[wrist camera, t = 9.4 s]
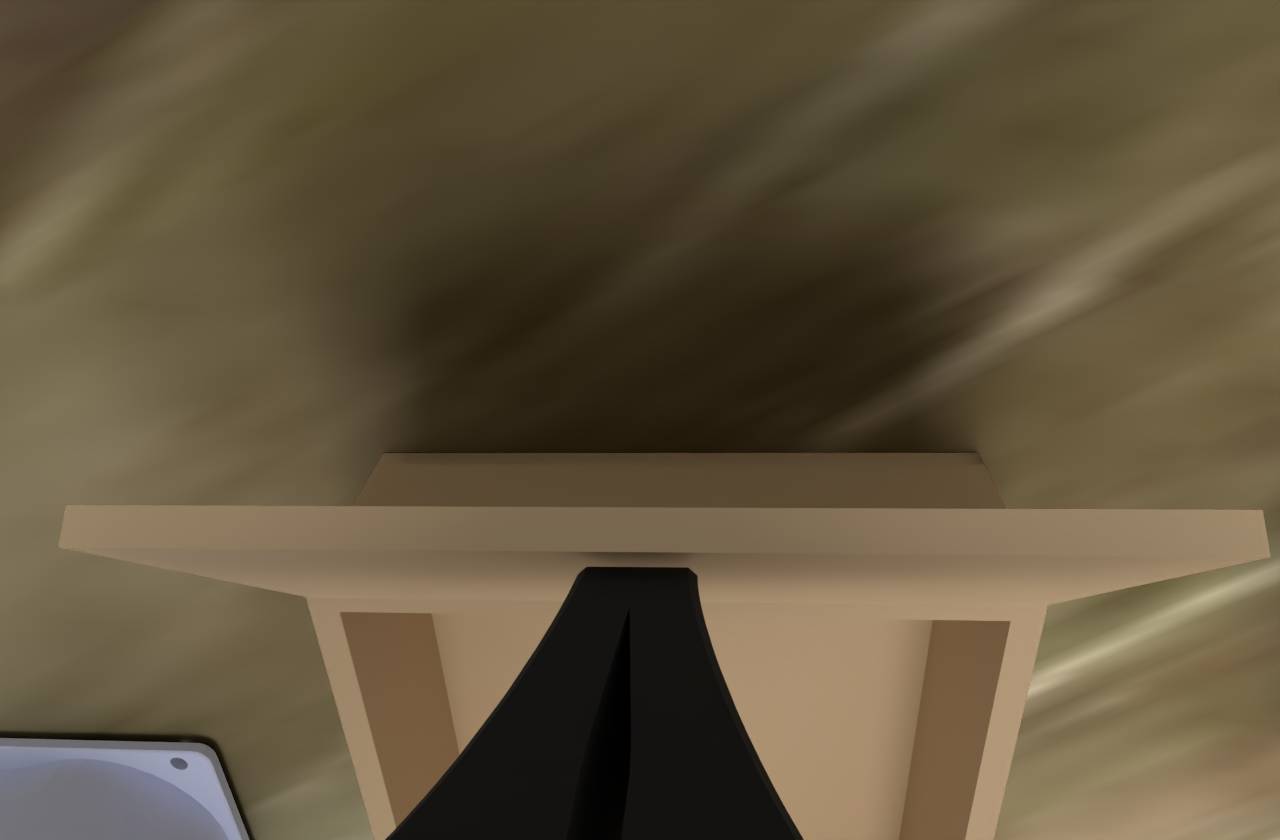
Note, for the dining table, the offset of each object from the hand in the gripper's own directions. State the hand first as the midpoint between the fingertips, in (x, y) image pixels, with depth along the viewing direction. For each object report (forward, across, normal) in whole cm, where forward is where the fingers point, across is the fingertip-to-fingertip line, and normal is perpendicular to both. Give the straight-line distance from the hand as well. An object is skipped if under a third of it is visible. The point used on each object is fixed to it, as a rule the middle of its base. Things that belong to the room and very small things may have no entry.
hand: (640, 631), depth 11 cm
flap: (+2, 0, +1) cm, 2 cm away
